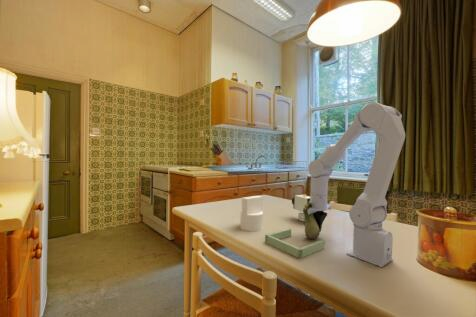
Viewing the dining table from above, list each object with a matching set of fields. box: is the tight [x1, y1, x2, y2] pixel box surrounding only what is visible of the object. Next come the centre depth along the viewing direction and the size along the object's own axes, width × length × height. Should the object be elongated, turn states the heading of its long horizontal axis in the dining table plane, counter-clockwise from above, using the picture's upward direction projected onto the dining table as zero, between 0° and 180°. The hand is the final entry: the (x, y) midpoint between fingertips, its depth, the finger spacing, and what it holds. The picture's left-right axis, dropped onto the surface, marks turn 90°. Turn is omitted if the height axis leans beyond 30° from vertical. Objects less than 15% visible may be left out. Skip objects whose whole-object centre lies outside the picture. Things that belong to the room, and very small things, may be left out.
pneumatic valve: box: [291, 193, 310, 223], centre depth 99 cm, size 6×12×12 cm, turn 29°
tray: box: [264, 228, 325, 259], centre depth 71 cm, size 14×12×2 cm
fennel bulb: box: [303, 202, 321, 239], centre depth 77 cm, size 6×5×12 cm
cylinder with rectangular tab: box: [239, 195, 264, 232], centre depth 88 cm, size 9×9×12 cm
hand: (316, 231), depth 80 cm, fingers closed, pressing on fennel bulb
